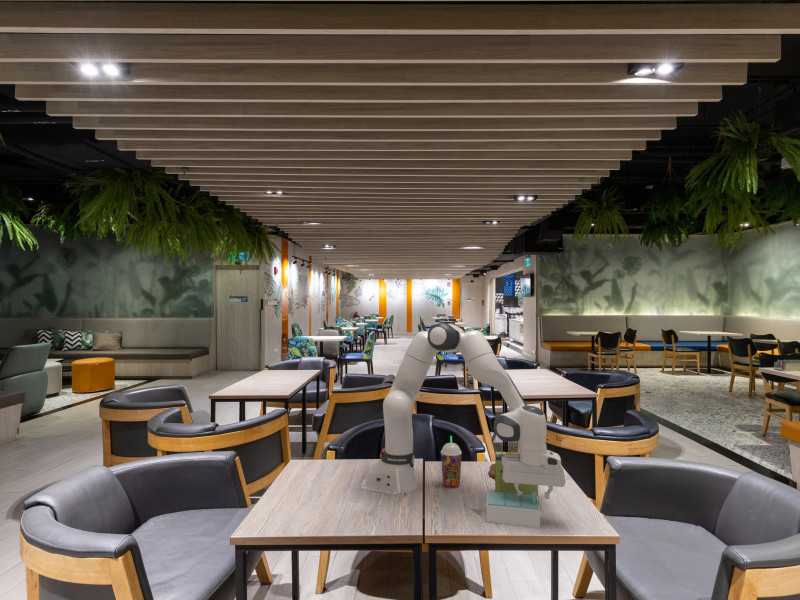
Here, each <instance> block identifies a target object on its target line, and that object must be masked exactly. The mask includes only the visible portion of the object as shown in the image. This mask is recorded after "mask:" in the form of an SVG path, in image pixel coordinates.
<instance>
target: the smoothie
mask: <svg viewBox="0 0 800 600" xmlns="http://www.w3.org/2000/svg"><path fill="white" fill-rule="evenodd" d="M449 438H450V439H449V441H450V442H447V443H445V444H444V445H443V447H442V449H441V450H440V456H441V471H442V472H441V474H442V476H441V477H442V484H443V486H445V487H446V488H449V489H450V488H451V489H452V488H453V489H454V488H457V487H459V486H460V484H461V469H462V453H463V452H462V450H461V448H460V446H459V445H458V444H457V443H455V442H453V436H452V435H450V436H449Z"/></svg>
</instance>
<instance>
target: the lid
mask: <svg viewBox="0 0 800 600" xmlns="http://www.w3.org/2000/svg"><path fill="white" fill-rule="evenodd" d="M487 495H488V502H487V501H486V505H490V506H501V507H512V508H523V509H533V510H539V508H540V505H539V506H538V502H539V499H538V500H537V495H536V491H535V487H533V486H531V495H530V494H522V497H520V496H518V493H506V492H505V491H504V492H495V491H491V490H488V492H487Z"/></svg>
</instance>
